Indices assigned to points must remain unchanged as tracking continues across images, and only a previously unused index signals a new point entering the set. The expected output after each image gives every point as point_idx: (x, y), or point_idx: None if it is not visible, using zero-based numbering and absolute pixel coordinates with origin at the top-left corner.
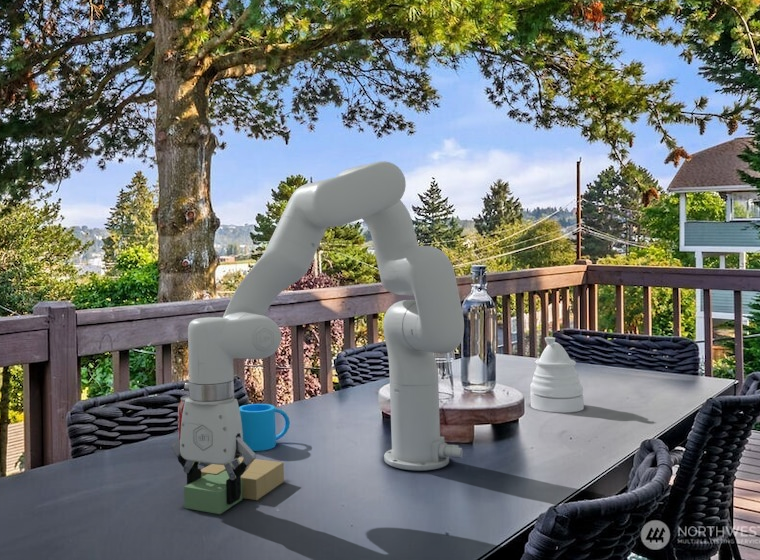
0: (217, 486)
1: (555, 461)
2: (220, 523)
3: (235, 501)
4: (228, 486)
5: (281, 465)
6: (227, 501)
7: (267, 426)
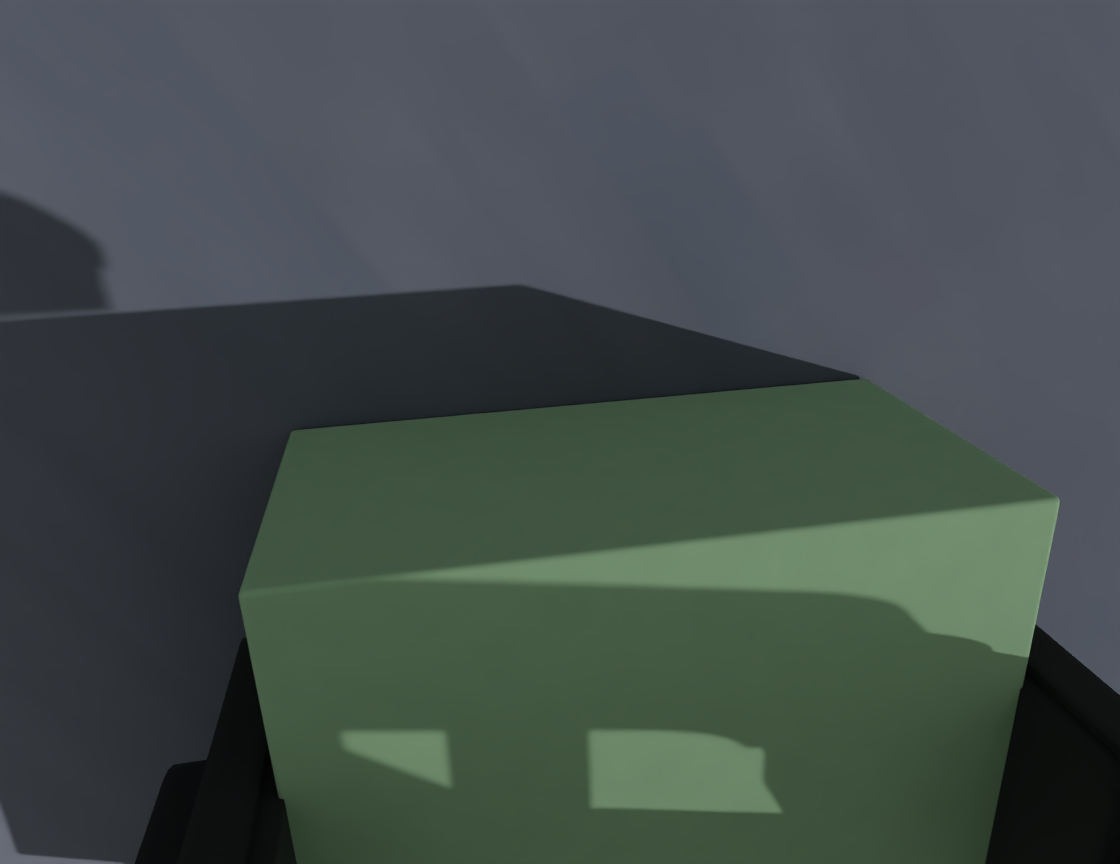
0: (492, 778)
1: None
2: (26, 154)
3: None
4: (209, 832)
5: None
6: None
7: None
